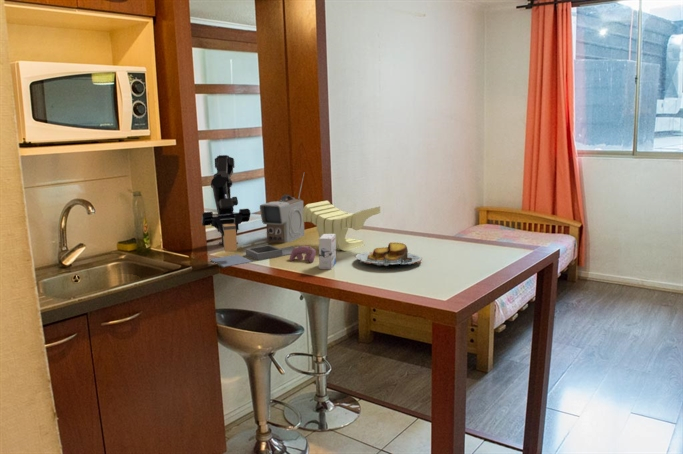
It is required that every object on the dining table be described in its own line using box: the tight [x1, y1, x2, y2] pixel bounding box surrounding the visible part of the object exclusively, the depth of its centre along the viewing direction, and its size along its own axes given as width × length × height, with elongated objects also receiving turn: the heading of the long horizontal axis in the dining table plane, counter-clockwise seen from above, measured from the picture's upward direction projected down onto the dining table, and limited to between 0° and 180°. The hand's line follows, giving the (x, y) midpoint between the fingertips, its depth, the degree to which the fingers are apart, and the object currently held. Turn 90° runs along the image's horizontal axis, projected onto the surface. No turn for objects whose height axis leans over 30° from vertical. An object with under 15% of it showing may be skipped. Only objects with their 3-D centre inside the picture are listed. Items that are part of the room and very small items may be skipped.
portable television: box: [259, 173, 305, 244], centre depth 260 cm, size 12×24×30 cm, turn 157°
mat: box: [209, 254, 254, 269], centre depth 226 cm, size 14×12×1 cm
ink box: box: [318, 234, 337, 270], centre depth 215 cm, size 9×5×12 cm, turn 168°
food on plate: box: [355, 242, 423, 267], centre depth 219 cm, size 25×25×7 cm
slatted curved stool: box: [303, 200, 381, 252], centre depth 245 cm, size 30×16×18 cm, turn 49°
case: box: [245, 244, 296, 261], centre depth 236 cm, size 11×22×3 cm, turn 125°
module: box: [222, 223, 238, 253], centre depth 224 cm, size 5×5×10 cm
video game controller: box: [289, 245, 317, 264], centre depth 225 cm, size 10×5×7 cm, turn 72°
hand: (230, 234), depth 223 cm, fingers closed on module, 5 cm apart
